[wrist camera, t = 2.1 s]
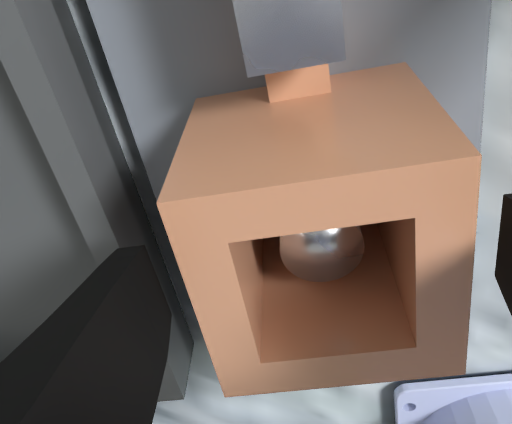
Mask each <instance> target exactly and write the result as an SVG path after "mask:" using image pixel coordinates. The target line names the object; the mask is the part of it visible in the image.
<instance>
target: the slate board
mask: <svg viewBox="0 0 512 424" xmlns="http://www.w3.org/2000/svg"><path fill="white" fill-rule="evenodd" d="M86 2H87V5H88V8H89V11H90V14H91V16H92V19H93V22H94V25H95V28H96V31H97V34H98V36H99V39H100V42H101V45H102V48H103V51H104V53H105V56H106V59H107V62H108V65H109V68H110V70H111V73H112V76H113V79H114V82H115V85H116V88H117V90H118V93H119V96H120V99H121V102H122V105H123V107H124V110H125V113H126V116H127V119H128V122H129V124H130V127H131V130H132V133H133V136H134V139H135V142H136V144H137V147H138V150H139V153H140V156H141V159H142V161H143V164H144V167H145V170H146V173H147V176H148V178H149V181H150V184H151V187H152V190H153V193H154V196H155V198H156V201H157V200H158V198H159V195H160V192H161V190H162V187H163V184H164V182H165V179H166V176H167V174H168V171H169V169H170V166H171V163H172V161H173V158H174V155H175V153H176V150H177V147H178V145H179V142H180V139H181V137H182V134H183V131H184V129H185V126H186V123H187V121H188V118H189V116H190V113H191V110H192V108H193V105H194V102H195V100H196V98H202V97H207V96H213V95H219V94H225V93H230V92H236V91H242V90H248V89H253V88H259V87H265V86H267V85H266V79H265V75H260V76H254V77H249V78H248V77H247V72H246V67H245V62H244V57H243V52H242V47H241V42H240V37H239V32H238V27H237V22H236V17H235V12H234V7H233V2H232V0H86ZM341 4H342V15H343V27H344V39H345V51H346V60H345V61H339V62H333V63H328V65H329V75H333V74H339V73H345V72H351V71H356V70H362V69H368V68H374V67H379V66H385V65H391V64H396V63H402V62H406V63H407V64H408V66H409V67H410V68H411V69H412V71H413V72H414V73H415V74H416V75H417V77H418V78H419V79H420V80H421V82H422V83H423V84H424V85H425V86H426V88H427V89H428V90H429V91H430V93H431V94H432V95H433V96H434V97H435V99H436V100H437V101H438V102H439V104H440V105H441V106H442V107H443V108H444V110H445V111H446V112H447V113H448V115H449V116H450V117H451V118H452V120H453V121H454V122H455V123H456V124H457V126H458V127H459V128H460V129H461V131H462V132H463V133H464V134H465V135H466V137H467V138H468V139H469V140H470V142H471V143H472V144H473V145H474V146H475V148H476V149H477V150H478V151H479V153H480V150H481V137H482V123H483V109H484V95H485V81H486V68H487V54H488V40H489V26H490V12H491V0H341Z"/></svg>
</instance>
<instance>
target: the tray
mask: <svg viewBox="0 0 512 424" xmlns="http://www.w3.org/2000/svg"><path fill="white" fill-rule="evenodd" d="M139 245H145V247H146V249H147V252H148V255H149V257H150V260H151V262H152V265H153V267H154V270H155V272H156V275H157V277H158V280H159V282H160V285H161V288H162V290H163V293H164V295H165V298H166V300H167V303H168V305H169V308H170V310H171V313H172V319H171V331H170V341H169V349H168V358H167V362H166V367H165V371H164V375H163V380H162V384H161V388H160V392H159V396H158V401H157V402H160V401H171V400H181V399H184V397H185V391H186V386H187V380H188V374H189V368H190V363H191V357H192V351H193V345H194V342H193V340H192V337H191V334H190V332H189V329H188V326H187V324H186V321H185V318H184V315H183V313H182V310H181V307H180V305H179V302H178V299H177V297H176V294H175V291H174V289H173V286H172V283H171V281H170V278H169V275H168V273H167V270H166V267H165V264H164V262H163V259H162V256H161V254H160V251H159V248H158V246H157V243H156V240H155V238H154V235H153V232H152V230H151V227H150V224H149V222H148V219H147V216H146V213H145V211H144V208H143V205H142V203H141V200H140V197H139V195H138V192H137V189H136V187H135V184H134V181H133V179H132V176H131V173H130V170H129V168H128V165H127V162H126V160H125V157H124V154H123V152H122V149H121V146H120V144H119V141H118V138H117V136H116V133H115V130H114V128H113V125H112V122H111V119H110V117H109V114H108V111H107V109H106V106H105V103H104V101H103V98H102V95H101V93H100V90H99V87H98V85H97V82H96V79H95V77H94V74H93V71H92V68H91V66H90V63H89V60H88V58H87V55H86V52H85V50H84V47H83V44H82V42H81V39H80V36H79V34H78V31H77V28H76V26H75V23H74V20H73V17H72V15H71V12H70V9H69V7H68V4H67V1H66V0H0V362H1V361H3V360H4V359H5V358H6V357H7V356H8V355H9V354H10V353H11V352H12V351H13V350H14V349H16V348H17V347H18V346H19V345H20V344H21V343H22V342H23V341H24V340H25V339H26V338H27V337H28V336H29V335H30V334H31V333H33V332H34V331H35V330H36V329H37V328H38V327H39V326H40V325H41V324H42V323H43V322H44V321H45V320H46V319H47V318H48V317H49V316H50V315H51V314H52V313H53V312H54V311H55V310H56V309H57V308H58V307H59V306H60V305H61V304H62V303H63V302H64V301H65V300H66V299H67V298H68V297H69V296H70V295H71V294H72V293H73V292H74V291H75V290H76V289H77V288H78V287H79V286H80V285H81V284H82V283H83V282H84V281H85V280H86V279H87V278H88V277H89V276H90V275H91V273H92V272H93V271H94V270H95V269H96V268H97V267H98V266H99V265H100V264H101V263H102V262H103V261H104V260H105V259H106V258H107V257H108V256H109V255H111V254H112V253H113V252H114V251H115V250H116V249H117V248H124V247H131V246H139Z"/></svg>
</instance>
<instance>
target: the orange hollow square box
mask: <svg viewBox="0 0 512 424" xmlns="http://www.w3.org/2000/svg"><path fill="white" fill-rule="evenodd" d="M265 79H266V85H267V86H265V87H259V88H253V89H248V90H242V91H236V92H230V93H225V94H219V95H213V96H207V97H202V98H196V100H195V102H194V105H193V108H192V110H191V113H190V116H189V118H188V121H187V123H186V126H185V129H184V131H183V134H182V137H181V139H180V142H179V145H178V147H177V150H176V153H175V155H174V158H173V161H172V163H171V166H170V169H169V171H168V174H167V176H166V179H165V182H164V184H163V187H162V190H161V192H160V195H159V198H158V200H157V203H156V204H157V207H158V210H159V213H160V215H161V218H162V221H163V224H164V227H165V230H166V232H167V235H168V238H169V241H170V244H171V247H172V249H173V252H174V255H175V258H176V261H177V264H178V266H179V269H180V272H181V275H182V278H183V281H184V283H185V286H186V289H187V292H188V295H189V297H190V300H191V303H192V306H193V309H194V312H195V314H196V317H197V320H198V323H199V326H200V329H201V331H202V334H203V337H204V340H205V343H206V346H207V348H208V351H209V354H210V357H211V360H212V363H213V365H214V368H215V371H216V374H217V377H218V380H219V382H220V385H221V388H222V391H223V394H224V397H234V396H245V395H255V394H266V393H276V392H287V391H298V390H308V389H319V388H329V387H340V386H350V385H361V384H371V383H382V382H393V381H403V380H414V379H424V378H435V377H445V376H456V375H465V373H466V359H467V346H468V332H469V319H470V306H471V292H472V279H473V265H474V252H475V238H476V225H477V212H478V198H479V185H480V171H481V158H482V155H481V154H480V153H479V151H478V150H477V149H476V148H475V146H474V145H473V144H472V143H471V142H470V140H469V139H468V138H467V137H466V135H465V134H464V133H463V132H462V131H461V129H460V128H459V127H458V126H457V124H456V123H455V122H454V121H453V120H452V118H451V117H450V116H449V115H448V113H447V112H446V111H445V110H444V108H443V107H442V106H441V105H440V104H439V102H438V101H437V100H436V99H435V97H434V96H433V95H432V94H431V93H430V91H429V90H428V89H427V88H426V86H425V85H424V84H423V83H422V82H421V80H420V79H419V78H418V77H417V75H416V74H415V73H414V72H413V71H412V69H411V68H410V67H409V66H408V64H407V63H406V62H402V63H396V64H391V65H385V66H379V67H374V68H368V69H362V70H356V71H351V72H345V73H339V74H333V75H329V65H328V64H322V65H316V66H311V67H305V68H300V69H294V70H288V71H283V72H277V73H271V74H266V75H265ZM359 225H360V229H361V232H362V236H363V240H364V254H363V257H362V259H361V261H360V263H359V264H358V266H357V267H356V268H355V269H354V270H353V271H351V272H350V273H349V274H347V275H346V276H344V277H342V278H339V279H336V280H333V281H328V282H313V281H307V280H304V279H301V278H299V277H297V276H295V275H294V274H292V273H291V272H290V271H289V270H288V269H287V268H286V267H285V265H284V264H283V261H282V259H281V255H280V236H285V235H292V234H299V233H307V232H314V231H322V230H329V229H336V228H344V227H351V226H359Z"/></svg>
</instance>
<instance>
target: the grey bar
mask: <svg viewBox="0 0 512 424" xmlns="http://www.w3.org/2000/svg"><path fill="white" fill-rule="evenodd" d="M232 2H233V7H234V12H235V17H236V22H237V27H238V32H239V37H240V42H241V47H242V52H243V57H244V62H245V67H246V72H247V77H248V78H249V77H254V76H260V75H266V74H271V73H277V72H283V71H288V70H294V69H300V68H305V67H311V66H316V65H322V64H328V63H333V62H339V61H345V60H346V51H345V39H344V27H343V15H342V4H341V0H232ZM363 254H364V240H363V236H362V232H361V229H360V225H359V226H351V227H344V228H336V229H329V230H322V231H314V232H307V233H299V234H292V235H285V236H280V255H281V259H282V261H283V264H284V265H285V267H286V268H287V269H288V270H289V271H290V272H291V273H292V274H294V275H295V276H297V277H299V278H301V279H304V280H307V281H313V282H328V281H333V280H336V279H339V278H342V277H344V276H346V275H347V274H349V273H350V272H351V271H353V270H354V269H355V268H356V267H357V266H358V264H359V263H360V261H361V259H362V257H363Z"/></svg>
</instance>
